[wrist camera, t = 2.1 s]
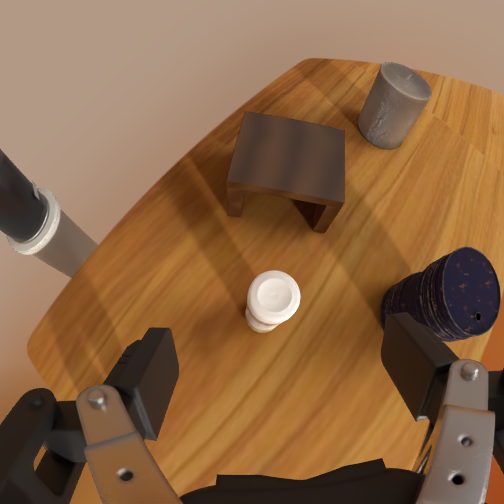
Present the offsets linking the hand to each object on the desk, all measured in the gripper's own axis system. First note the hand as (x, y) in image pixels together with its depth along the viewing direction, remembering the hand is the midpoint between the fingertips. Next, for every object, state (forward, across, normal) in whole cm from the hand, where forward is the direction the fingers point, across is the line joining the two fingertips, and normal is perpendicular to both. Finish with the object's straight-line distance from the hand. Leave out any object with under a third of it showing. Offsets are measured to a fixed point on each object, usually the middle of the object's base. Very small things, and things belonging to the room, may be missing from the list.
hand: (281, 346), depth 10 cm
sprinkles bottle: (+26, +1, +12) cm, 28 cm away
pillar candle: (+46, -24, -14) cm, 53 cm away
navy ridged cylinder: (+26, -20, +14) cm, 36 cm away
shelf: (+36, -3, -4) cm, 36 cm away
